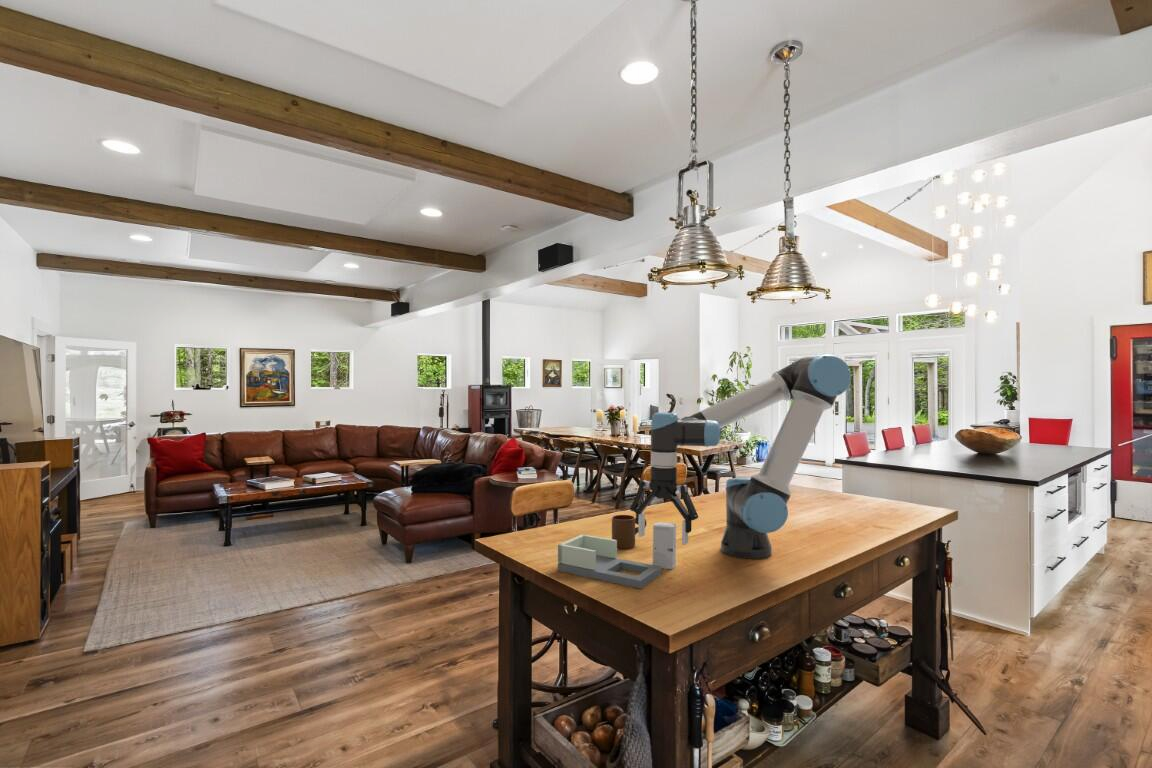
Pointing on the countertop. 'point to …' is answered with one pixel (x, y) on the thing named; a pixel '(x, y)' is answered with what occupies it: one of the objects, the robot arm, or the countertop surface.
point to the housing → (586, 550)
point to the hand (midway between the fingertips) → (662, 539)
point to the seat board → (609, 568)
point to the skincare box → (664, 545)
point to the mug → (624, 531)
